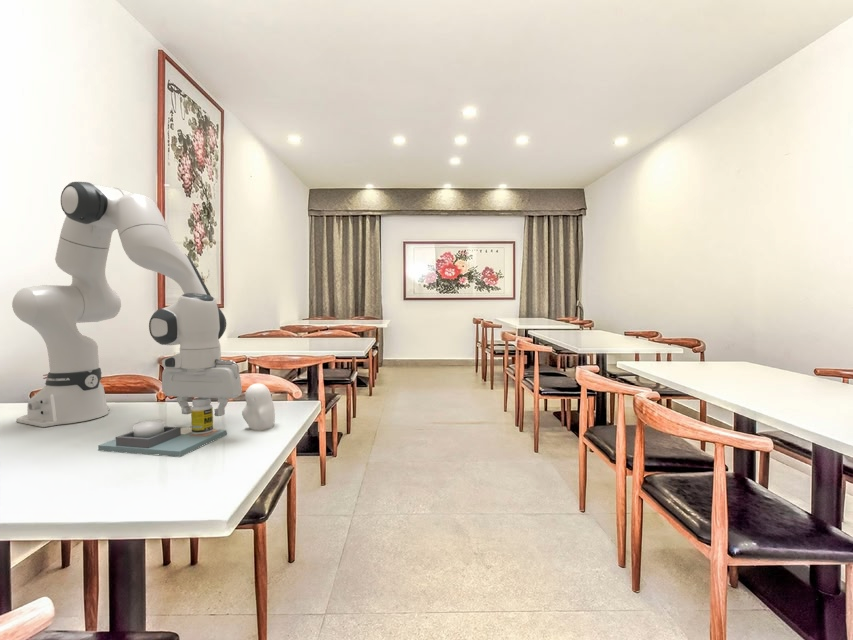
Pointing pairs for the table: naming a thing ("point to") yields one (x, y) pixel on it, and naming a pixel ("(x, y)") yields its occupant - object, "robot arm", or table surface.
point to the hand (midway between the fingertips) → (203, 414)
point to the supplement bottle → (201, 416)
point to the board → (162, 442)
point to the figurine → (259, 408)
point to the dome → (148, 428)
